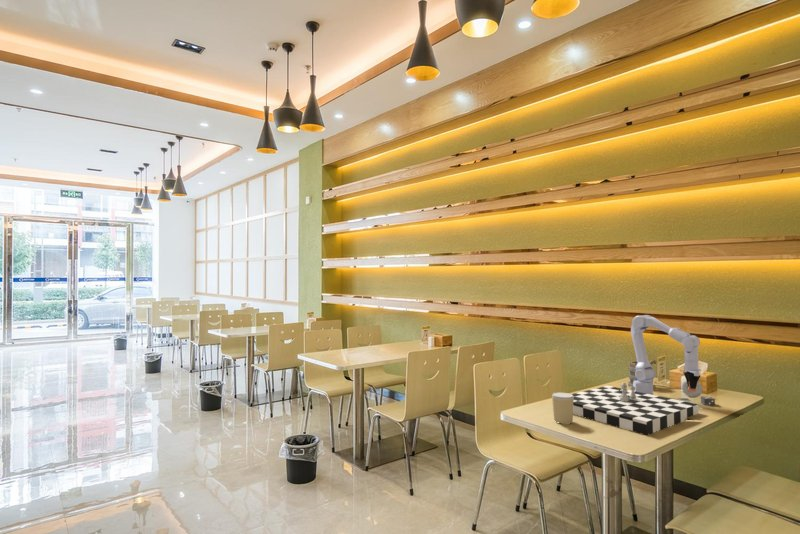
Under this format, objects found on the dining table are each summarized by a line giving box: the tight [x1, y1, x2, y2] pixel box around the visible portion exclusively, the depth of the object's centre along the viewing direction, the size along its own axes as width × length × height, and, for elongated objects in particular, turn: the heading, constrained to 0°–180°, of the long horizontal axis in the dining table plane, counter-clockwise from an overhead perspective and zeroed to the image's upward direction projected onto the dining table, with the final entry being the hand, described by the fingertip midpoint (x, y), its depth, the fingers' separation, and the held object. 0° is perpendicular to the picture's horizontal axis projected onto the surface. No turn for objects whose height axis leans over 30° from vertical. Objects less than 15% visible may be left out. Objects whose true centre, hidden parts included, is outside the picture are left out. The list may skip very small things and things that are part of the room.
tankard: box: [627, 359, 658, 387], centre depth 269 cm, size 20×13×15 cm, turn 109°
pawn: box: [688, 384, 696, 392], centre depth 224 cm, size 4×4×7 cm
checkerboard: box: [571, 382, 699, 436], centre depth 217 cm, size 45×45×15 cm
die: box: [700, 395, 716, 407], centre depth 225 cm, size 4×5×5 cm
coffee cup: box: [551, 391, 574, 425], centre depth 203 cm, size 9×9×12 cm
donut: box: [680, 379, 704, 398], centre depth 243 cm, size 10×4×10 cm, turn 42°
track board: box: [677, 397, 703, 410], centre depth 227 cm, size 7×21×1 cm, turn 166°
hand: (691, 387), depth 224 cm, fingers closed on pawn, 3 cm apart
